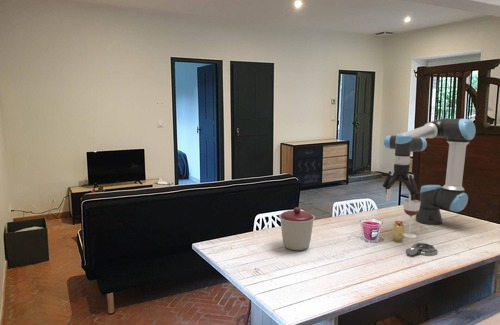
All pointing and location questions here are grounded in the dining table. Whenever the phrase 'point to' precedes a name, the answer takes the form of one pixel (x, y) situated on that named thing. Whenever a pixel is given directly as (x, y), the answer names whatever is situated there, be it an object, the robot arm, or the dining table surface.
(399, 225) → the yellow glass cylinder
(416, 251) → the grey flat curved piece
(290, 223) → the canister
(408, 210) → the wineglass
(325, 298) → the dining table surface
